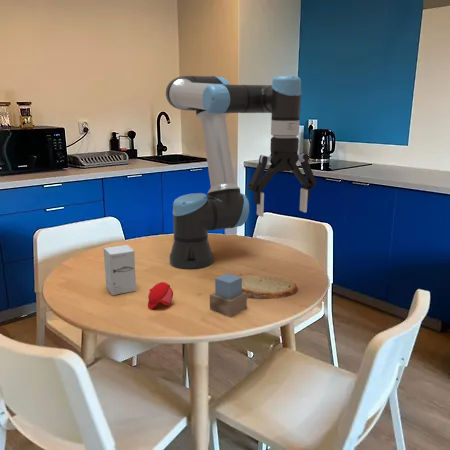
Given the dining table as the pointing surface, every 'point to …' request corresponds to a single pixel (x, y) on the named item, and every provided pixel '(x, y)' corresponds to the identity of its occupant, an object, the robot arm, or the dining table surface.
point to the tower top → (228, 286)
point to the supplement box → (120, 269)
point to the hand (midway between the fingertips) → (281, 213)
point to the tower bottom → (228, 304)
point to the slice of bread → (267, 287)
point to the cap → (160, 295)
